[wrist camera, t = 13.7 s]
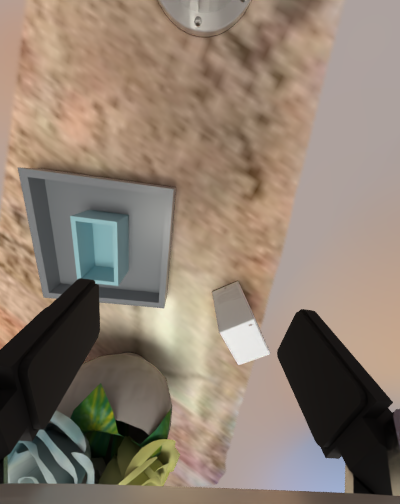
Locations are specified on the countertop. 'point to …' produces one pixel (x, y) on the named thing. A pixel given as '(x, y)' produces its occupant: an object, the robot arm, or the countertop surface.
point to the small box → (238, 324)
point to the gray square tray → (108, 200)
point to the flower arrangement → (104, 429)
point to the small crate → (101, 246)
